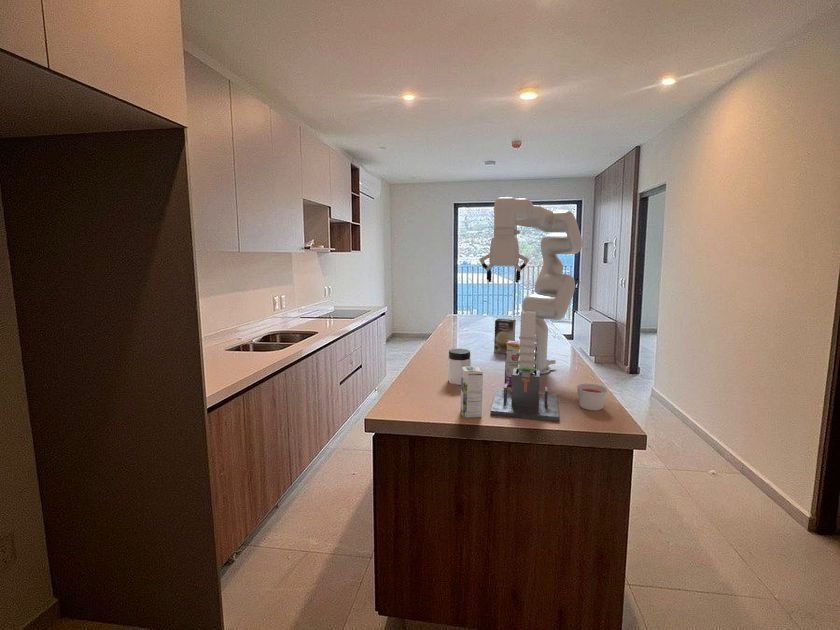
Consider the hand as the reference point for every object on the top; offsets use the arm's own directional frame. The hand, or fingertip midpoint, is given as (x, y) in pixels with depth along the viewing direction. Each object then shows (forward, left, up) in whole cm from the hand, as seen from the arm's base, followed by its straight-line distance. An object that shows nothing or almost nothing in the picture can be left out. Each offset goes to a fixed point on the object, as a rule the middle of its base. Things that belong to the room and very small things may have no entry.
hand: (503, 282), depth 155 cm
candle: (-13, +31, -39) cm, 51 cm away
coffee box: (-31, -41, -38) cm, 64 cm away
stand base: (+6, +22, -38) cm, 45 cm away
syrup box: (+25, +20, -38) cm, 50 cm away
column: (+6, +22, -30) cm, 37 cm away
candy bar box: (-6, +4, -38) cm, 39 cm away
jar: (+12, -10, -38) cm, 42 cm away
